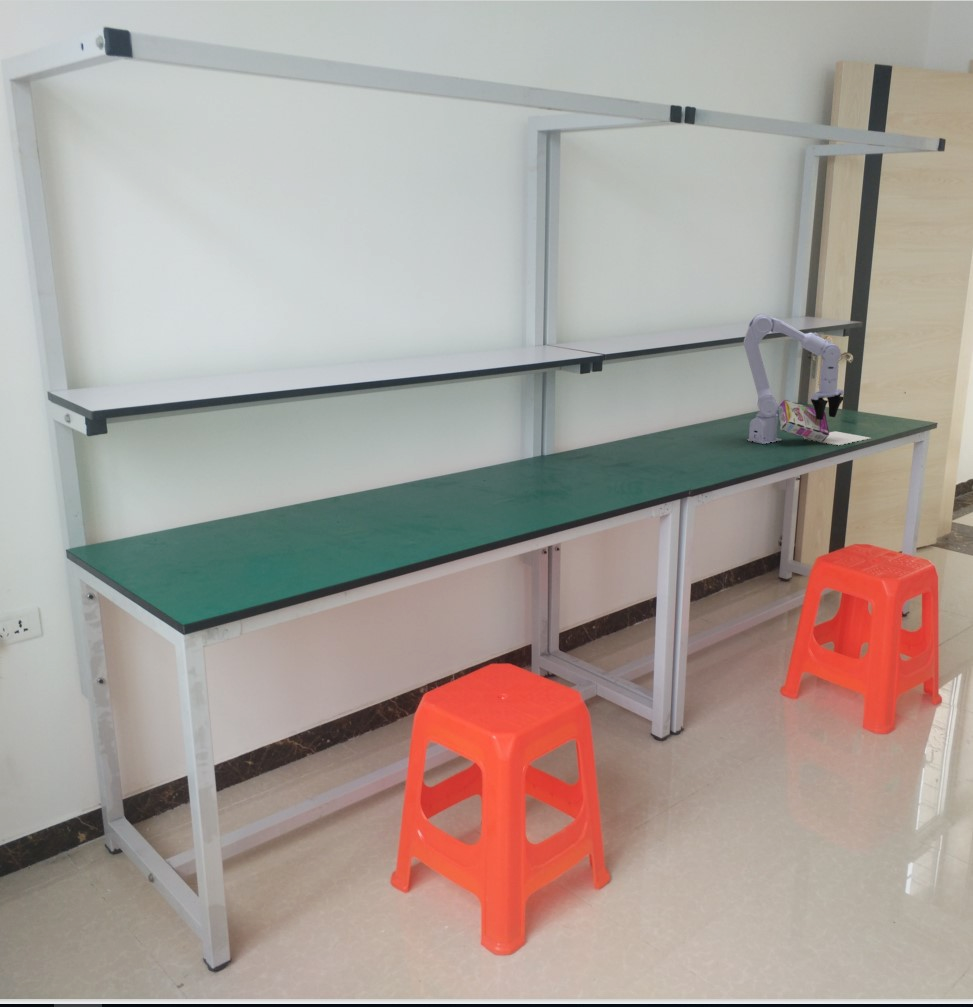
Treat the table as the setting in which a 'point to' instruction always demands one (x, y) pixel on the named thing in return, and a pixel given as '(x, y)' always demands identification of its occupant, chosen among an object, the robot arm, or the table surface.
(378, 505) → the table surface
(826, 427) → the candy bar box
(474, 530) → the table surface
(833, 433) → the mat
